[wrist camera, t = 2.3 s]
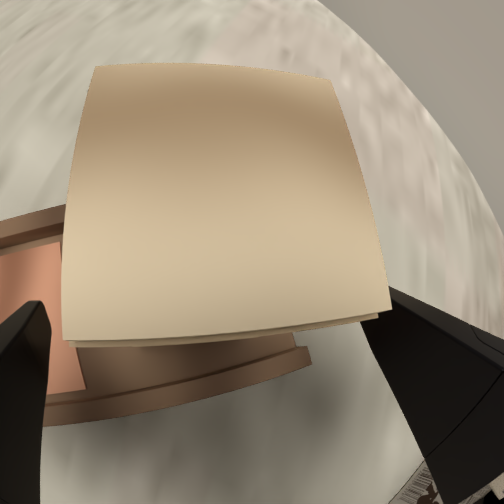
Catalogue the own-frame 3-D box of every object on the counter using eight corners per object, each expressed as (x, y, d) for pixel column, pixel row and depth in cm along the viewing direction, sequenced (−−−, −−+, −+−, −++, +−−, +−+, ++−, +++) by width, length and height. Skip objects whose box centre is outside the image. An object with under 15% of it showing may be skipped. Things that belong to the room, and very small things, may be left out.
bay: (244, 191, 20) (254, 171, 18) (294, 362, 18) (312, 364, 15) (-49, 254, 14) (-68, 243, 11) (-25, 422, 11) (-45, 428, 9)
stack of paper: (246, 338, 16) (397, 313, 5) (137, 346, 15) (57, 346, 4) (234, 236, 18) (332, 78, 7) (132, 239, 16) (92, 63, 5)
